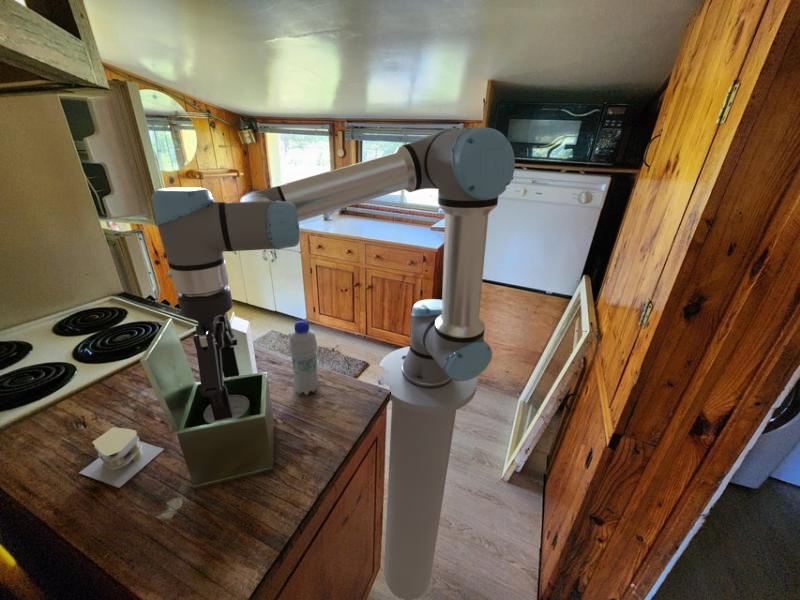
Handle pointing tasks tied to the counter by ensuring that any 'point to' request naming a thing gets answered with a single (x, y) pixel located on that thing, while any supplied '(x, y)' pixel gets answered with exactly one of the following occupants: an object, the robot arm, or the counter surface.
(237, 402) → the canned tomato
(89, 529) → the counter surface
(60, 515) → the counter surface
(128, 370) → the counter surface
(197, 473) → the bin
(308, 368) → the bottle
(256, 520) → the counter surface
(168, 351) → the lid
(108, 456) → the stacked layers on plate
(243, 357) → the milk
